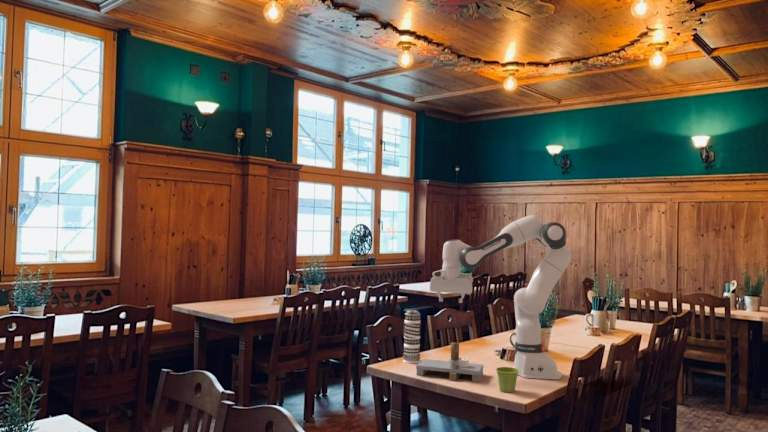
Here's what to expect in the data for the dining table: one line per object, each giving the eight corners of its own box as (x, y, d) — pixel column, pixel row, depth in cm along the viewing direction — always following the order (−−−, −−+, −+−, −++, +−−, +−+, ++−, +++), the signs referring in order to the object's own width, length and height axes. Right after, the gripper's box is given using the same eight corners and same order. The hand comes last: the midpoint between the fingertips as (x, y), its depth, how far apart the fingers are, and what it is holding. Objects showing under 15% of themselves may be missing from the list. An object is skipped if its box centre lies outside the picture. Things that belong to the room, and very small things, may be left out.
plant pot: (514, 395, 229) (514, 373, 229) (492, 391, 234) (492, 370, 234) (521, 390, 237) (522, 369, 237) (500, 386, 242) (500, 365, 242)
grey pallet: (483, 373, 263) (483, 363, 263) (477, 383, 246) (478, 372, 246) (424, 367, 272) (424, 357, 272) (414, 376, 254) (415, 366, 255)
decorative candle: (407, 364, 277) (408, 312, 278) (399, 359, 286) (400, 309, 286) (424, 362, 281) (425, 311, 282) (415, 358, 290) (416, 309, 290)
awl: (459, 367, 254) (459, 342, 254) (458, 369, 251) (458, 344, 251) (451, 366, 255) (451, 342, 256) (450, 368, 252) (450, 343, 252)
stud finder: (468, 365, 258) (468, 358, 258) (467, 367, 254) (467, 360, 255) (451, 363, 261) (451, 356, 261) (449, 365, 257) (449, 358, 257)
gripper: (474, 273, 273) (473, 302, 273) (432, 271, 279) (431, 300, 279) (472, 274, 267) (471, 304, 267) (429, 272, 273) (428, 301, 273)
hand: (450, 302), depth 273 cm, fingers open, 8 cm apart
